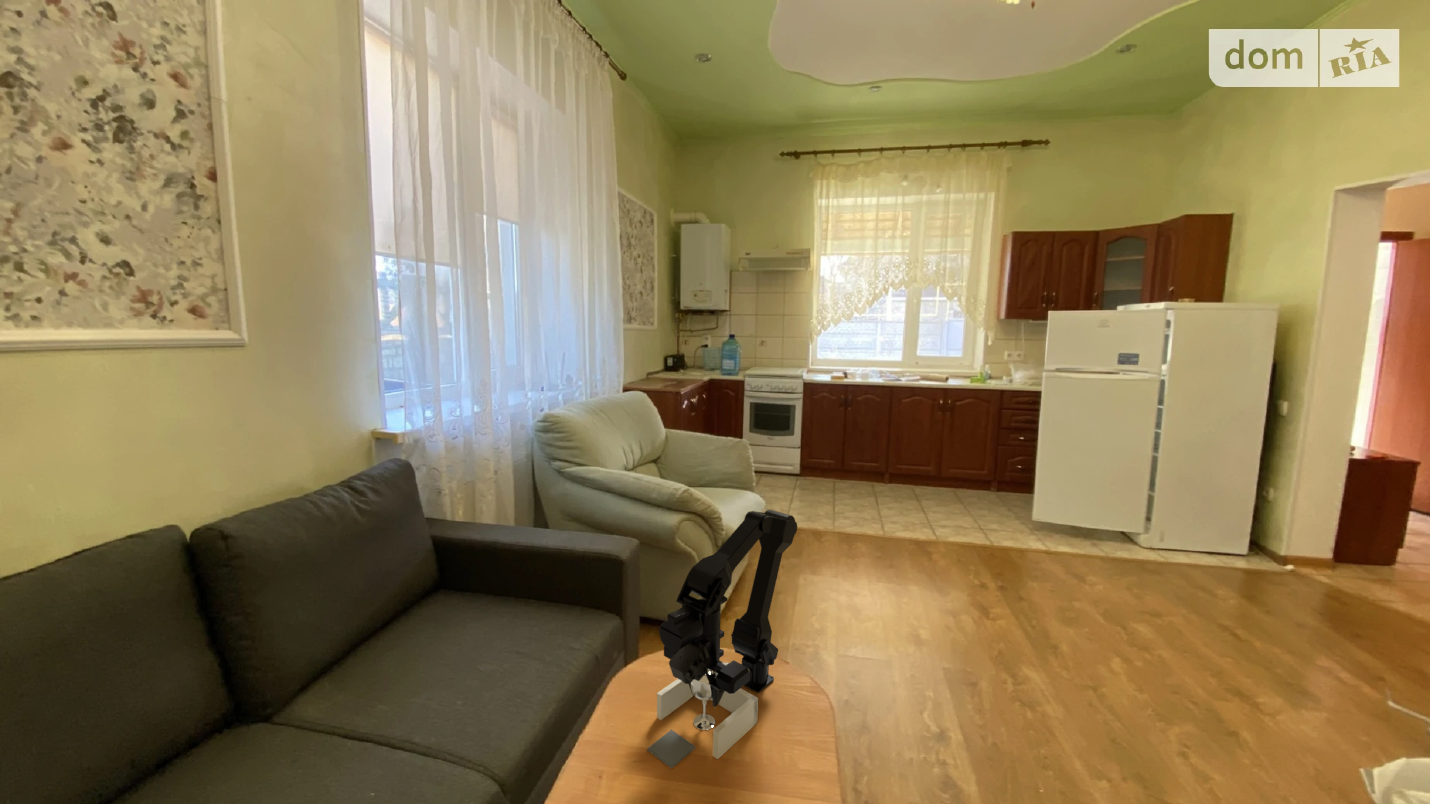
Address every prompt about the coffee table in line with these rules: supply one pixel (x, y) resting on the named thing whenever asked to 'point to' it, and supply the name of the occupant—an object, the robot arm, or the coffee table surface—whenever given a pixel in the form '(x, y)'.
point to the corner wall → (737, 703)
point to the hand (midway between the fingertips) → (704, 699)
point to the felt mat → (671, 748)
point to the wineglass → (703, 700)
